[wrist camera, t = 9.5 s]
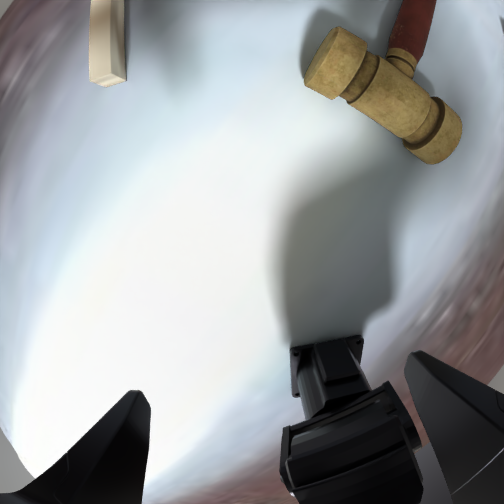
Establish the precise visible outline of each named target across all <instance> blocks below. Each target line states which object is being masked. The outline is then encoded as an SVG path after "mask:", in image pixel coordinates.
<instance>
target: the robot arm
mask: <svg viewBox="0 0 504 504" xmlns="http://www.w3.org/2000/svg"><path fill="white" fill-rule="evenodd" d="M358 340H359V341H358ZM357 341H358V342H357ZM363 344H364V339H363V337H362V336H361V335H356V336H352V337H347V338H342V339H337V340H332V341H327V342H321V343H316V344H310V345H304V346H298V347H293V348H292V349H291V350H290V367H291V389H292V396H293V397H295V398H298V397H301V401H302V406H303V410H304V414H305V419H306V421H303V422H300V423H298V424H295V425H292V426H290V425H289V426H286V427H284V428H283V434H282V442H281V457H280V470H279V471H280V475H281V476H280V479H281V481H282V482H283V483H284V484H285V486H286V488H287V490H288V491H289V493H290V494H291V495H292V496H293V497H295V498H296V499H297V500H298V502H299V504H419V503H420V502H421V498H422V494H423V486H422V482H423V478H422V474H421V471H420V469H419V466H418V463H417V460H416V458H415V455H414V453H413V452H416V451H417V450H419V449H421V448H422V444H421V440H420V437H419V435H418V432H417V430H416V427H415V425H414V423H413V421H412V419H411V417H410V415H409V413H408V411H407V409H406V408H405V406H404V405H403V403H402V401H401V400H400V398H399V396H398V395H397V393H396V392H395V390H394V388H393V387H392V385H391V384H390V382H389V381H386V382H384V383H383V384H382V385H381V386H379V387H378V388H376V389H374V390H372V389H371V387H370V385H369V383H368V381H367V379H366V377H365V375H364V373H363V371H362V369H361V367H360V363H361V357H362V350H363ZM295 352H298V353H295ZM404 374H405V378H406V380H407V383H408V386H409V389H410V392H411V395H412V398H413V401H414V404H415V407H416V410H417V412H418V414H419V417H420V419H421V421H422V423H423V426H424V428H425V430H426V433H427V435H428V437H429V440H430V442H431V444H432V447H433V449H434V451H435V454H436V457H437V459H438V462H439V464H440V467H441V469H442V472H443V474H444V477H445V480H446V483H447V486H448V488H449V491H450V494H451V498H452V500H453V504H504V394H502V393H500V392H498V391H495V389H493V388H491V387H489V386H487V385H485V384H483V383H481V382H480V381H478V380H476V379H474V378H472V377H470V376H468V375H466V374H465V373H463V372H461V371H459V370H457V369H455V368H453V367H451V366H450V365H448V364H446V363H444V362H442V361H440V360H438V359H436V358H435V357H433V356H431V355H429V354H427V353H425V352H423V351H421V350H417V351H414V352H411V353H410V354H409V356H408V359H407V362H406V365H405V369H404ZM150 418H151V408H150V405H149V403H148V401H147V399H146V398H145V396H144V394H143V392H142V391H140V390H130V391H128V392H127V393H126V394H125V395H124V396H123V397H122V398H121V399H120V400H119V401H118V402H117V403H116V404H115V405H114V406H113V407H112V408H111V409H110V410H109V411H108V412H107V413H106V414H105V415H104V416H103V417H102V418H101V419H100V420H99V421H98V422H97V423H96V424H95V425H94V426H93V427H92V428H91V429H90V430H89V431H88V432H87V433H86V434H85V435H84V436H83V437H82V438H81V439H80V440H79V441H78V442H77V443H76V444H74V445H73V446H72V447H71V448H70V449H69V450H68V451H67V453H65V454H64V455H63V456H62V457H61V458H60V459H59V460H58V461H57V462H56V463H55V464H53V465H52V466H51V467H50V468H49V469H48V470H46V471H45V472H44V473H43V474H41V475H40V476H39V477H37V478H36V479H35V480H33V481H32V482H31V483H29V484H28V485H27V486H25V487H24V488H23V489H21V490H19V491H16V492H13V493H0V504H142V495H143V487H144V479H145V472H146V465H147V459H148V452H149V439H150Z"/></svg>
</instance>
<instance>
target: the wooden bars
mask: <svg viewBox="0 0 504 504" xmlns="http://www.w3.org/2000/svg"><path fill="white" fill-rule="evenodd" d="M89 77H90V82H93V83H96V84H99V85H101V86H104V87H109V86H112V85H115V84H118V83H121V82H125V81H126V68H125V46H124V0H91V11H90V28H89Z"/></svg>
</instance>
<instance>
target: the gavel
mask: <svg viewBox="0 0 504 504" xmlns="http://www.w3.org/2000/svg"><path fill="white" fill-rule="evenodd" d="M435 5H436V0H403V2H402V5H401V8H400V11H399V13H398V16H397V19H396V22H395V25H394V27H393V30H392V33H391V35H390V38H389V45H388V52H387V55H386V57H385V59H383V58H382V57H380V56H379V55H373V54H372V53H370V52H369V51H367V43H366V42H365V41H364V40H362V39H360V38H359V37H357V36H355V35H354V34H352V33H350V32H348V31H347V30H345V29H343V28H341V27H336V28H333V29H332V30H331V31H330V32H329V34H328V35H327V36H326V38H325V39H324V41H323V42H322V44H321V45H320V47H319V49H318V50H317V52H316V54H315V56H314V58H313V60H312V62H311V64H310V66H309V68H308V70H307V72H306V74H305V77H304V85H305V86H306V87H308V88H310V89H312V90H314V91H316V92H318V93H320V94H322V95H324V96H325V97H327V98H329V99H335V98H336V97H337V96H340V97H342V98H343V99H345V100H346V101H347V103H348V104H349V105H351V106H352V107H354V108H356V109H357V110H359V111H360V112H362V113H364V114H365V115H367V116H368V117H370V118H371V119H373V120H374V121H376V122H377V123H379V124H380V125H382V126H383V127H385V128H386V129H387V130H389V131H390V132H392V133H393V134H395V135H396V136H398V137H401V138H402V142H403V145H404V146H405V148H406V149H408V150H409V151H410V152H412V153H413V154H414V155H415V156H417V157H418V158H419V159H421V160H422V161H423V162H425V163H426V164H436V163H439V162H441V161H443V160H445V159H446V158H447V157H448V156H449V155H450V154H451V153H452V152H453V151H454V150H455V148H456V147H457V145H458V143H459V141H460V138H461V134H462V122H461V119H460V117H459V116H458V115H457V114H456V113H455V112H454V111H453V110H452V109H451V108H450V107H449V106H448V105H447V104H446V103H445V102H444V101H443V100H442V99H440V98H438V97H430V95H429V94H428V93H427V92H426V91H425V90H424V89H423V88H422V87H420V86H419V85H418V84H417V83H416V82H414V81H413V80H412V79H413V76H414V71H415V68H416V65H417V63H418V62H419V60H420V58H421V57H422V55H423V52H424V49H425V45H426V42H427V38H428V34H429V30H430V26H431V22H432V18H433V14H434V10H435Z"/></svg>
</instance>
